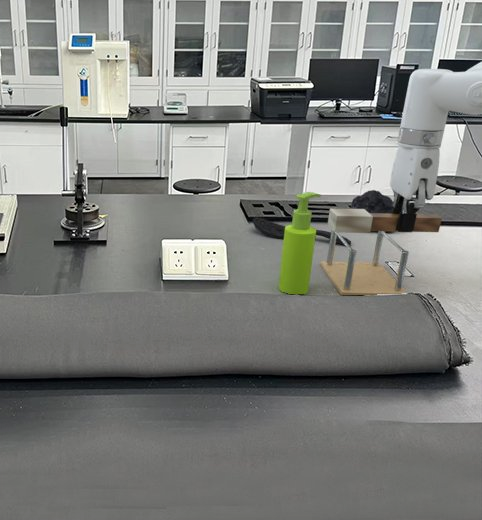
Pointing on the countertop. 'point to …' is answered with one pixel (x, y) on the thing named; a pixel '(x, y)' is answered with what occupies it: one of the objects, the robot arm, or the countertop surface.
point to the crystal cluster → (373, 202)
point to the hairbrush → (279, 230)
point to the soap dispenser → (298, 249)
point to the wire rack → (364, 271)
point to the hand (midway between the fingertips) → (401, 228)
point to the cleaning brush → (376, 221)
